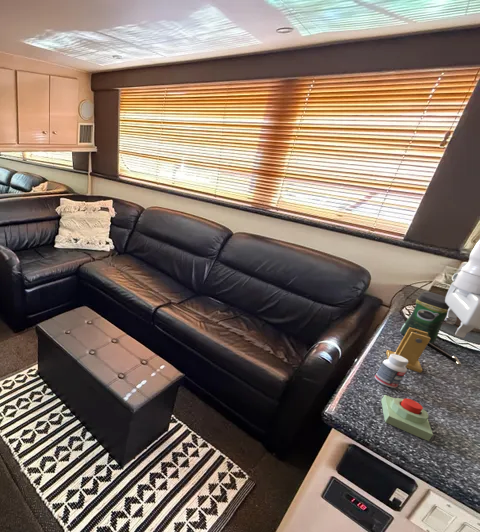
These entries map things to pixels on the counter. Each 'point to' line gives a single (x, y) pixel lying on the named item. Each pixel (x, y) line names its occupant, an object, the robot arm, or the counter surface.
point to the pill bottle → (392, 371)
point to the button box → (406, 418)
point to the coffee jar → (427, 315)
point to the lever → (444, 353)
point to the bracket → (412, 348)
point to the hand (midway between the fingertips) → (453, 329)
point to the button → (411, 406)
